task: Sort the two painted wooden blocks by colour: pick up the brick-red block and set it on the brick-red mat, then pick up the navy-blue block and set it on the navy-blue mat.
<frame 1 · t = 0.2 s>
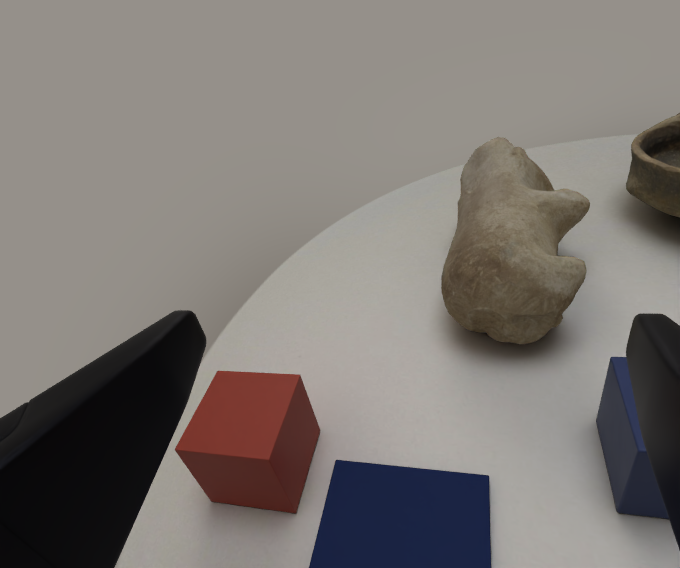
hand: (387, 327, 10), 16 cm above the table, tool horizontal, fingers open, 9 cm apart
blue block: (664, 468, 22), on the table
sculpture: (511, 279, 35), on the table
blue mat: (400, 551, 22), on the table
red block: (268, 464, 26), on the table
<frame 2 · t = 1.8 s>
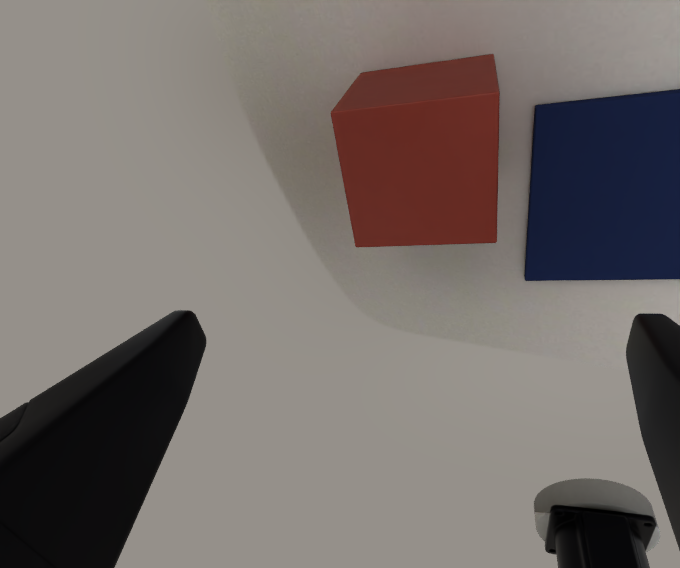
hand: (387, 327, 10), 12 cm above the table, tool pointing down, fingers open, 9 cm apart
blue mat: (635, 194, 19), on the table
red block: (428, 128, 19), on the table
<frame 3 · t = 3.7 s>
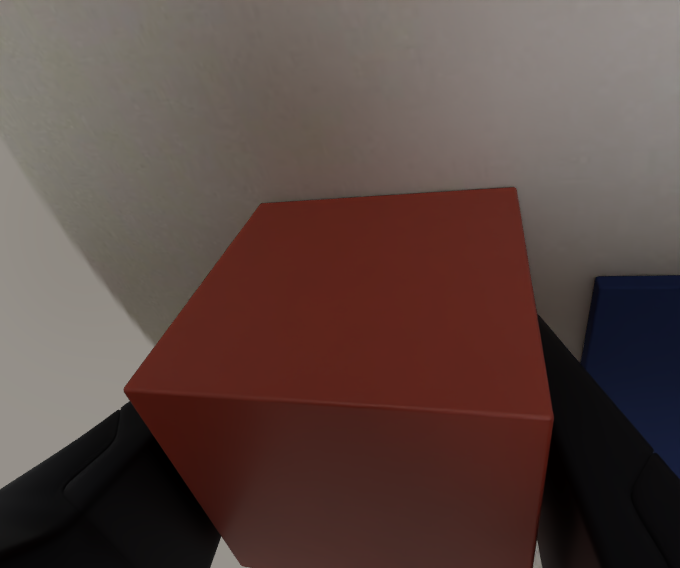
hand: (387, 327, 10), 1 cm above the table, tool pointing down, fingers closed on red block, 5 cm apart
red block: (392, 296, 10), on the table, touching gripper
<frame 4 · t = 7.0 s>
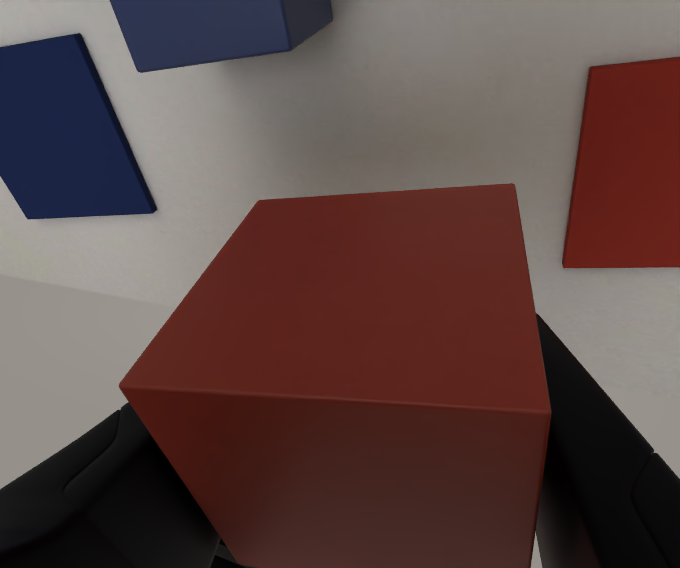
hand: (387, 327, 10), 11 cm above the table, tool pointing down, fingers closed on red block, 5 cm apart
blue mat: (52, 138, 22), on the table
red block: (391, 293, 10), point 10 cm above the table, touching gripper
when the fingers open (1 cm above the table, at t = 10.4 s): red block stays where it is, resting on red mat.
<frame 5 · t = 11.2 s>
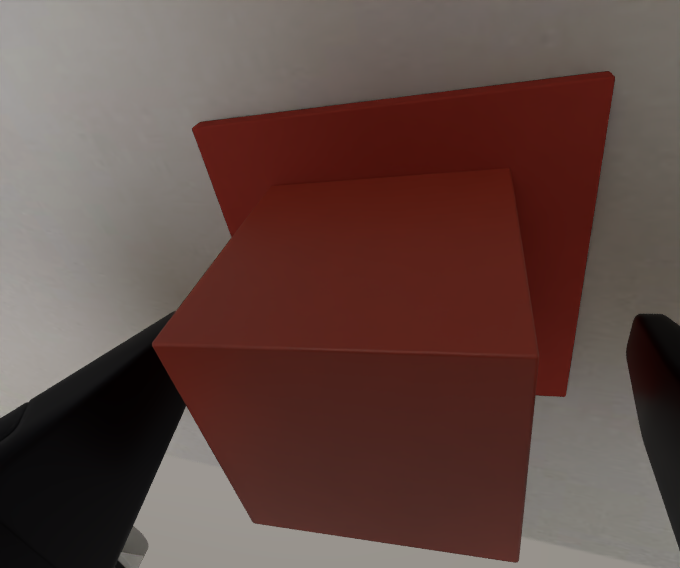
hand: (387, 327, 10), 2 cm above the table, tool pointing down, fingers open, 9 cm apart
red mat: (400, 267, 11), on the table
red block: (394, 274, 11), resting on red mat
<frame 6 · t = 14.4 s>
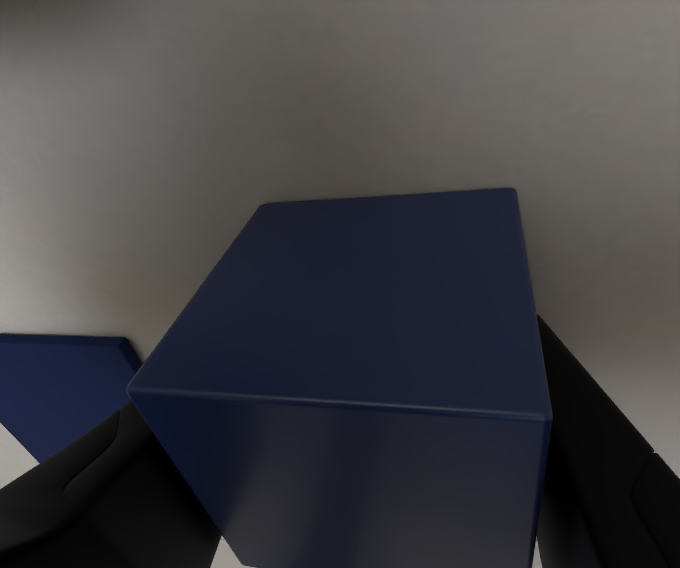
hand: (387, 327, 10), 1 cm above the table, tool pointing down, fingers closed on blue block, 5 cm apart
blue block: (392, 295, 10), on the table, touching gripper
blue mat: (83, 414, 17), on the table
when the fingers open (1 cm above the table, at t = 19.6 s): blue block stays where it is, resting on blue mat.
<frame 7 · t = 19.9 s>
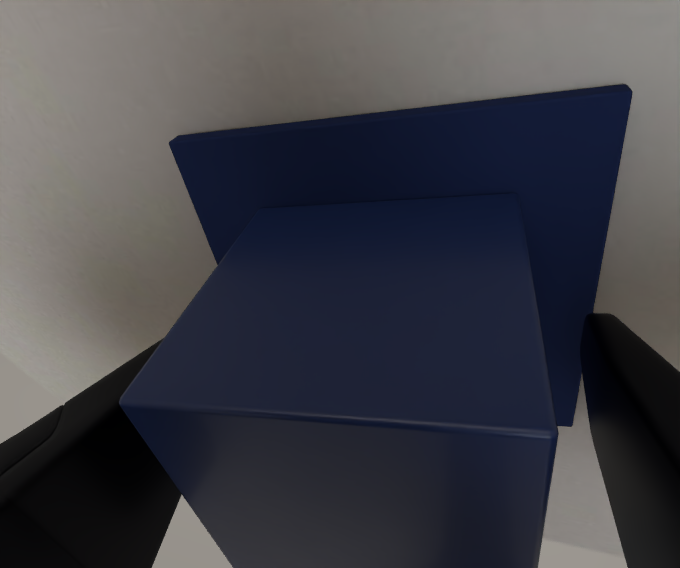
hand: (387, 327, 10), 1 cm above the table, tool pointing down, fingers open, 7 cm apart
blue block: (392, 301, 10), resting on blue mat
blue mat: (395, 290, 11), on the table
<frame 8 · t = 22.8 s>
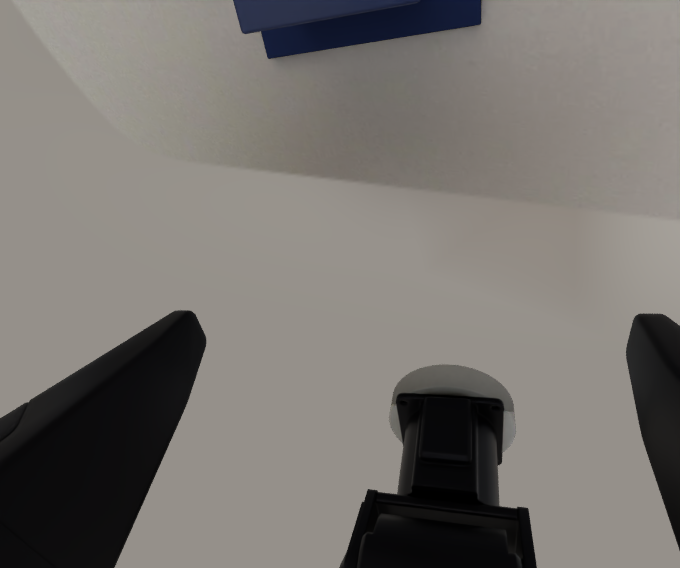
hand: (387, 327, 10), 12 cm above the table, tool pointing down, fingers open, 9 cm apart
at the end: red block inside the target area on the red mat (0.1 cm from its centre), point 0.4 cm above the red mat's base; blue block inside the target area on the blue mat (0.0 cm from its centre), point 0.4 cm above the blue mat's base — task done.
